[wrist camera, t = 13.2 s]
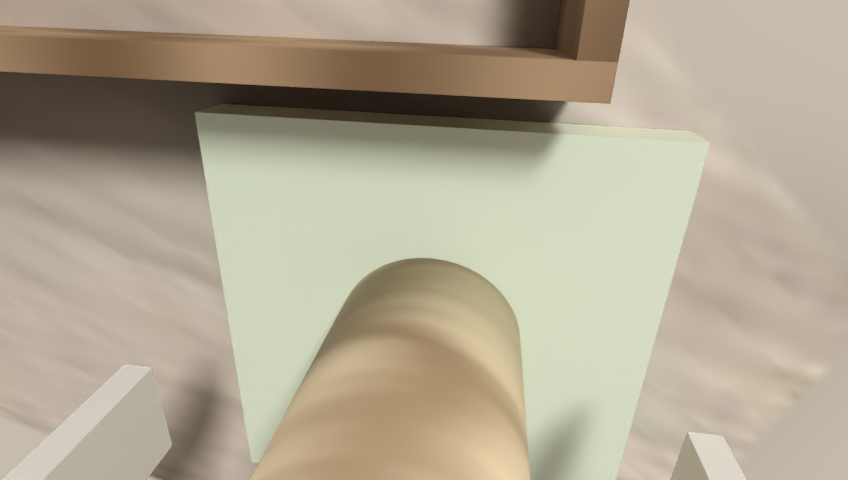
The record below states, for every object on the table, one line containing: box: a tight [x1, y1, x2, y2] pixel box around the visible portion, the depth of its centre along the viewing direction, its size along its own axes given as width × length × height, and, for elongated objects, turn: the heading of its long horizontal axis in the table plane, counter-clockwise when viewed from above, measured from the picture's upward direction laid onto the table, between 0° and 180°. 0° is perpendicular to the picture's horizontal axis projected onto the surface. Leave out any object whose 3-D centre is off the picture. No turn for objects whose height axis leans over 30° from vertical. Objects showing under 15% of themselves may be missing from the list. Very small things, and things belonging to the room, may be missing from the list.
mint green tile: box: [195, 104, 710, 480], centre depth 17 cm, size 14×14×2 cm
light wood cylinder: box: [250, 258, 530, 480], centre depth 12 cm, size 6×6×9 cm
